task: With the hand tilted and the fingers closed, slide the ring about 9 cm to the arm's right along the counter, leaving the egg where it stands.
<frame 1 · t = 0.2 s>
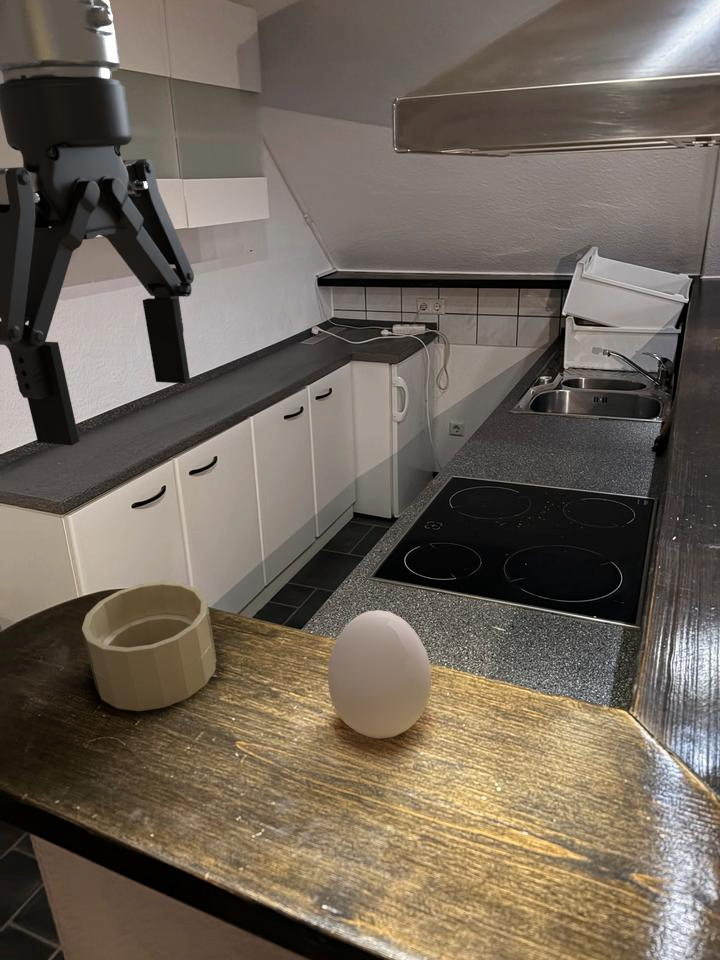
hand: (122, 409, 55), 30 cm above the countertop, tool pointing down, fingers open, 13 cm apart
egg: (382, 728, 66), on the countertop
ring: (158, 678, 74), on the countertop
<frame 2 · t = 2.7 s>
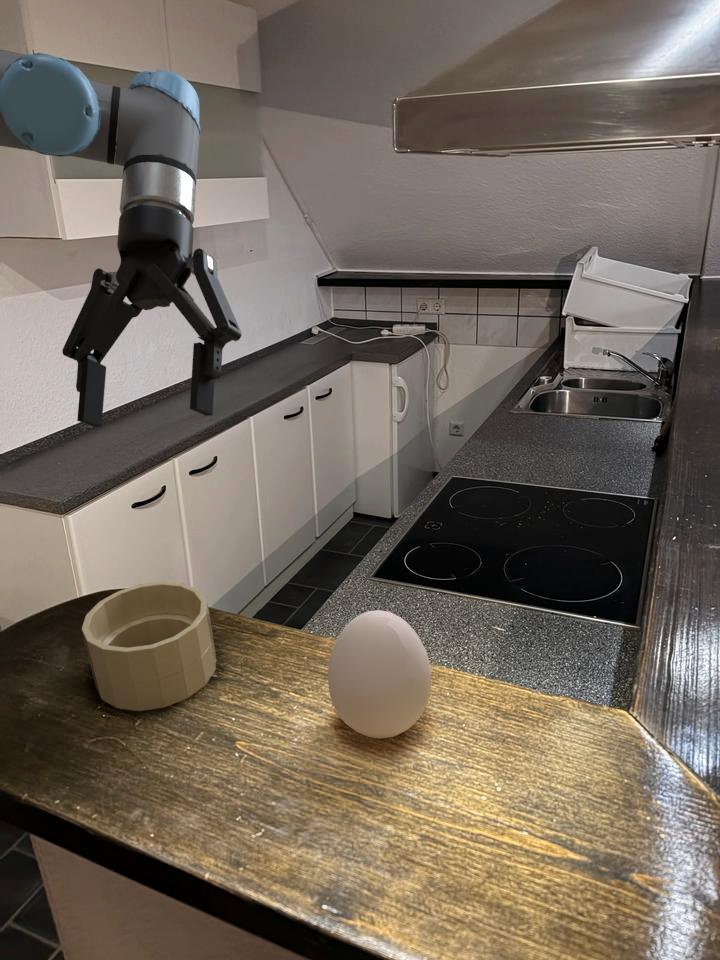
hand: (143, 418, 76), 22 cm above the countertop, tool tilted 35°, fingers open, 13 cm apart
nothing on the countertop moved.
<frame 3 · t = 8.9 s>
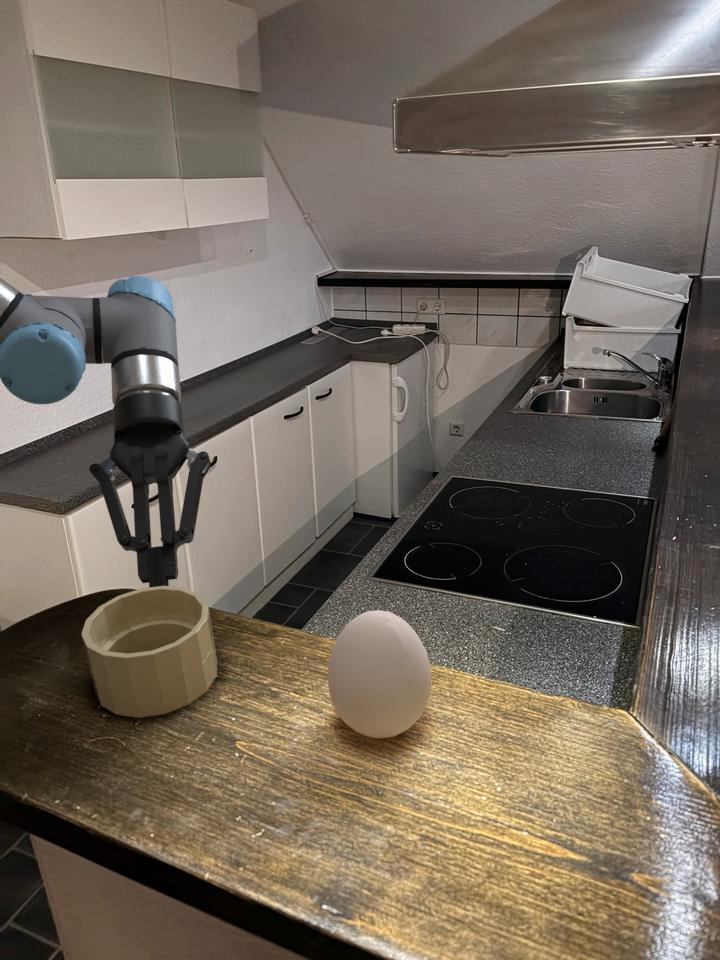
hand: (160, 611, 78), 4 cm above the countertop, tool tilted 45°, fingers closed
ring: (159, 684, 73), on the countertop, touching gripper
everything else where it was.
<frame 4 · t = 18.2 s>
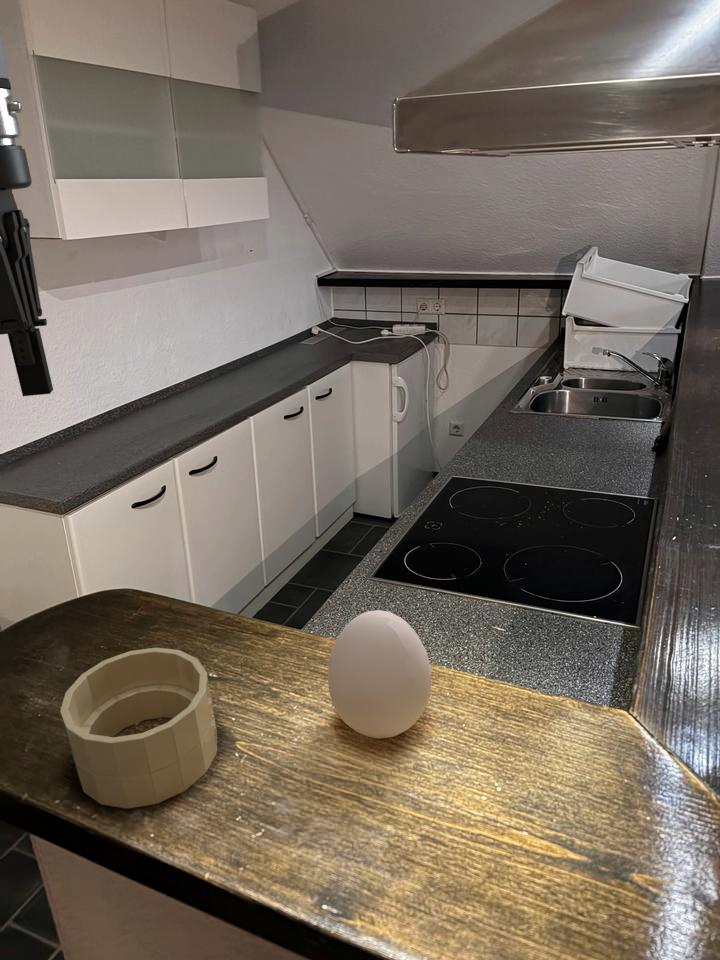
hand: (38, 392, 79), 24 cm above the countertop, tool pointing down, fingers closed
ring: (151, 762, 64), on the countertop
everything else where it was.
at the end: ring inside the target area (1.6 cm from its centre), on the countertop; ring tilted 0°; egg moved 0.2 cm from its start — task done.
